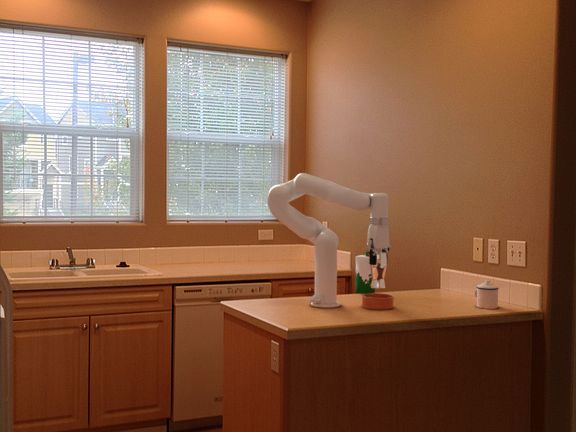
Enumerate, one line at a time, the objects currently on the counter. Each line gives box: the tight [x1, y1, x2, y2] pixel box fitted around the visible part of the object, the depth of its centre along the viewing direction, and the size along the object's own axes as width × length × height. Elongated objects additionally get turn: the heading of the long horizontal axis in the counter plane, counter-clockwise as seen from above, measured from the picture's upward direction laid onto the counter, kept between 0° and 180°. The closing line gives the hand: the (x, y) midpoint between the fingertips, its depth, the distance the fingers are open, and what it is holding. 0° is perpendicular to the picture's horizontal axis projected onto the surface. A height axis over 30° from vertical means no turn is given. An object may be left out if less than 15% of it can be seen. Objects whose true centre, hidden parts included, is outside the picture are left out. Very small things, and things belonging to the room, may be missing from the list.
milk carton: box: [354, 251, 376, 295], centre depth 318 cm, size 9×9×20 cm
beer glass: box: [370, 251, 388, 290], centre depth 279 cm, size 7×7×15 cm
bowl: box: [361, 292, 395, 311], centre depth 279 cm, size 13×13×5 cm
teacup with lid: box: [474, 279, 499, 310], centre depth 283 cm, size 12×9×12 cm
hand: (378, 263), depth 278 cm, fingers closed on beer glass, 7 cm apart
